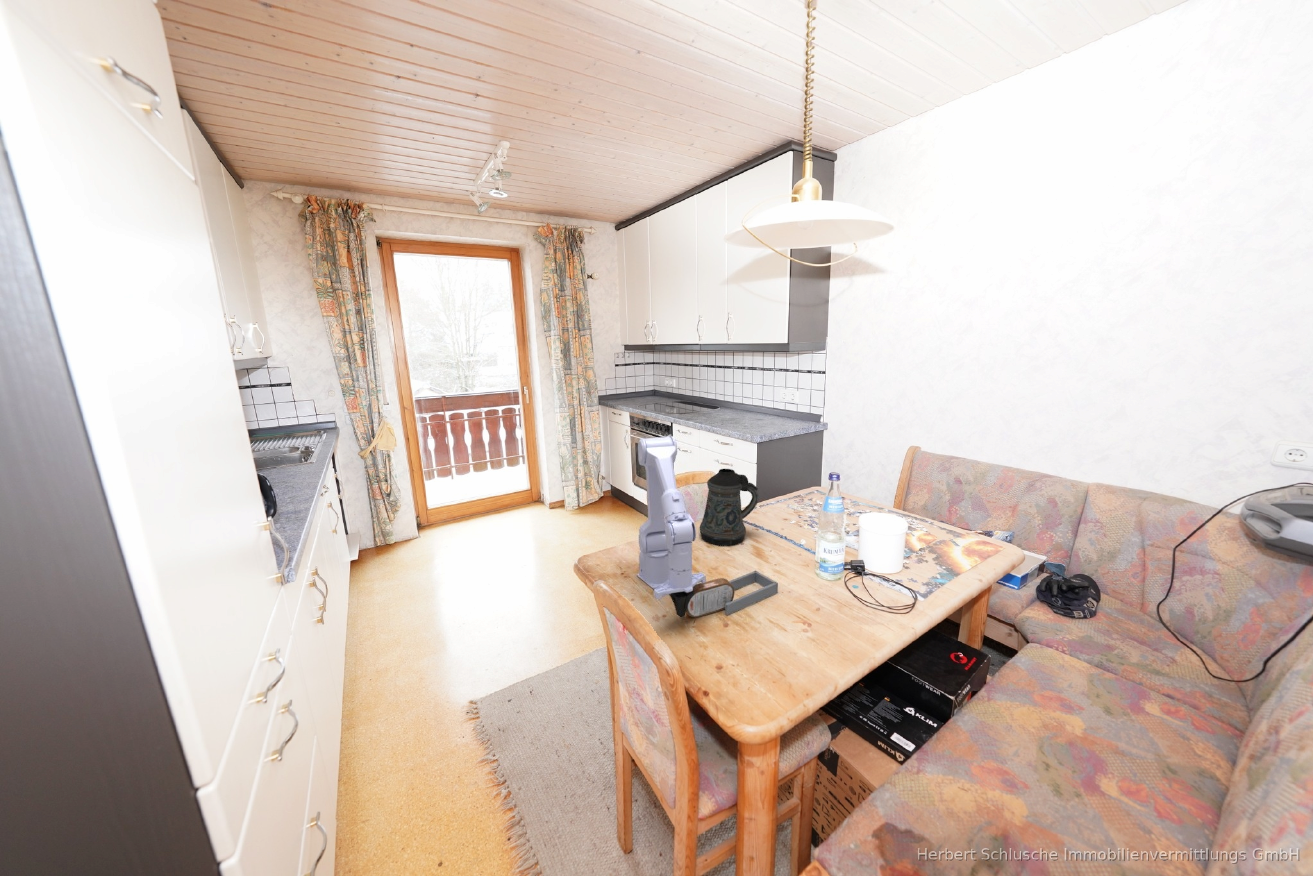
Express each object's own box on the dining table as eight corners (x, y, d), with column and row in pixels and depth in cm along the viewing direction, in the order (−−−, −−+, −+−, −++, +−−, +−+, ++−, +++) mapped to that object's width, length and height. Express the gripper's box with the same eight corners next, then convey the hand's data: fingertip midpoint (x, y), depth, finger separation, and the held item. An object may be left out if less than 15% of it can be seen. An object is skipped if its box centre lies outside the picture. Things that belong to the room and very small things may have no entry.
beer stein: (692, 531, 170) (692, 466, 165) (739, 523, 176) (741, 461, 170) (710, 550, 155) (711, 479, 149) (761, 541, 160) (764, 473, 155)
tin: (729, 601, 125) (730, 573, 123) (736, 607, 122) (736, 579, 120) (680, 616, 118) (680, 586, 117) (686, 622, 116) (686, 592, 114)
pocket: (705, 600, 125) (706, 590, 125) (755, 579, 135) (755, 570, 135) (727, 615, 118) (727, 605, 118) (777, 592, 128) (778, 583, 128)
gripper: (665, 581, 105) (665, 633, 108) (713, 564, 113) (713, 613, 116) (648, 569, 111) (649, 618, 114) (696, 553, 119) (696, 600, 122)
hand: (680, 615), depth 115 cm, fingers closed
